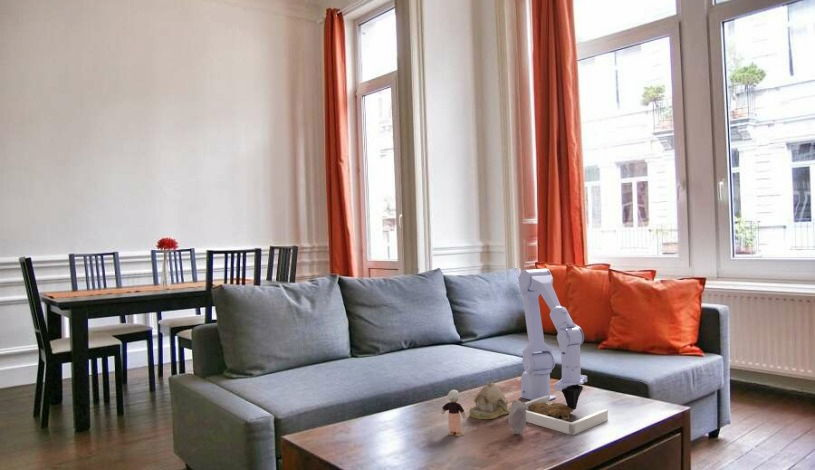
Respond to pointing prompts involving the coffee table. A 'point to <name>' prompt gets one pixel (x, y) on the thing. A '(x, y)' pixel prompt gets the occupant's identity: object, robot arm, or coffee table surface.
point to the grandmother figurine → (454, 413)
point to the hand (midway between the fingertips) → (571, 408)
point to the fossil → (517, 416)
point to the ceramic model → (489, 403)
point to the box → (561, 424)
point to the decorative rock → (552, 410)
